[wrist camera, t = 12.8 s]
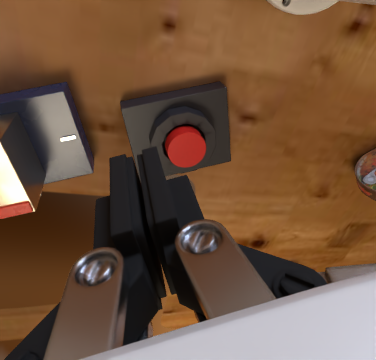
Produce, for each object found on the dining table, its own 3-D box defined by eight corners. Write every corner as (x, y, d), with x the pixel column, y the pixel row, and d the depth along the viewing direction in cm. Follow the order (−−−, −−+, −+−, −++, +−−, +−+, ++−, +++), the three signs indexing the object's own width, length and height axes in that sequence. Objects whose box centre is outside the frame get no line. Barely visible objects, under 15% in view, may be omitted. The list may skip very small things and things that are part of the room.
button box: (220, 81, 34) (232, 92, 31) (225, 152, 39) (236, 168, 36) (120, 101, 33) (121, 115, 30) (138, 172, 38) (141, 191, 35)
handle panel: (62, 70, 30) (58, 79, 28) (97, 167, 36) (96, 182, 34) (-70, 95, 29) (-87, 106, 26) (-10, 191, 35) (-19, 208, 33)
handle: (-17, 118, 28) (-45, 150, 23) (17, 111, 28) (-2, 141, 23) (16, 181, 32) (-1, 221, 27) (46, 175, 32) (35, 213, 27)
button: (199, 121, 32) (204, 128, 31) (203, 155, 34) (208, 163, 33) (161, 129, 32) (164, 137, 30) (168, 163, 34) (171, 171, 33)
